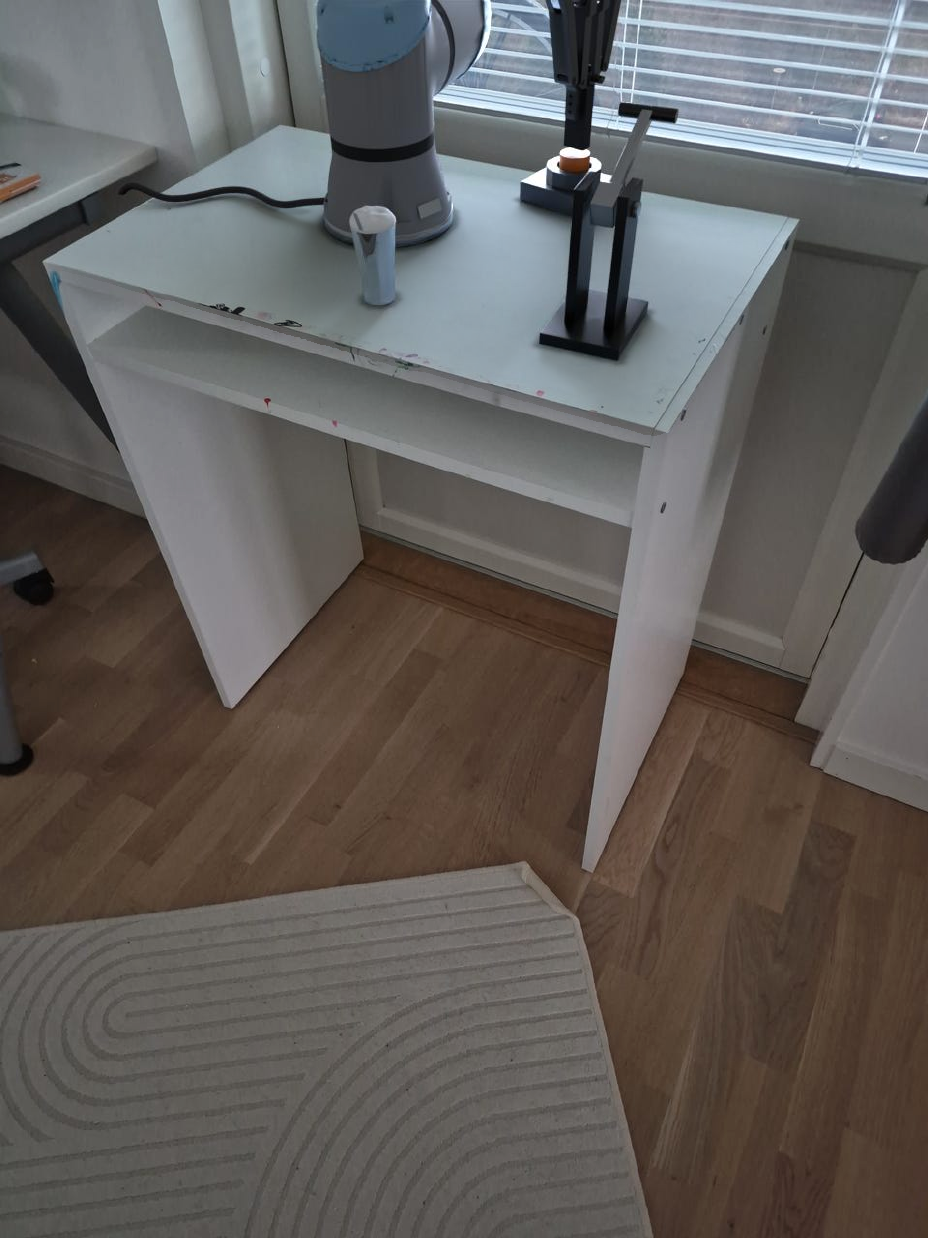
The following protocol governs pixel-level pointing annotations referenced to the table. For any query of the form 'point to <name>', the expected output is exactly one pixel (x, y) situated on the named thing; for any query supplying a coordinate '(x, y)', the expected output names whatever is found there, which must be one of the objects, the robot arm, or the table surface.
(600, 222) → the switch lever
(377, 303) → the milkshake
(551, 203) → the control block
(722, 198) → the table surface
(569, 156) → the button
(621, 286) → the stand
